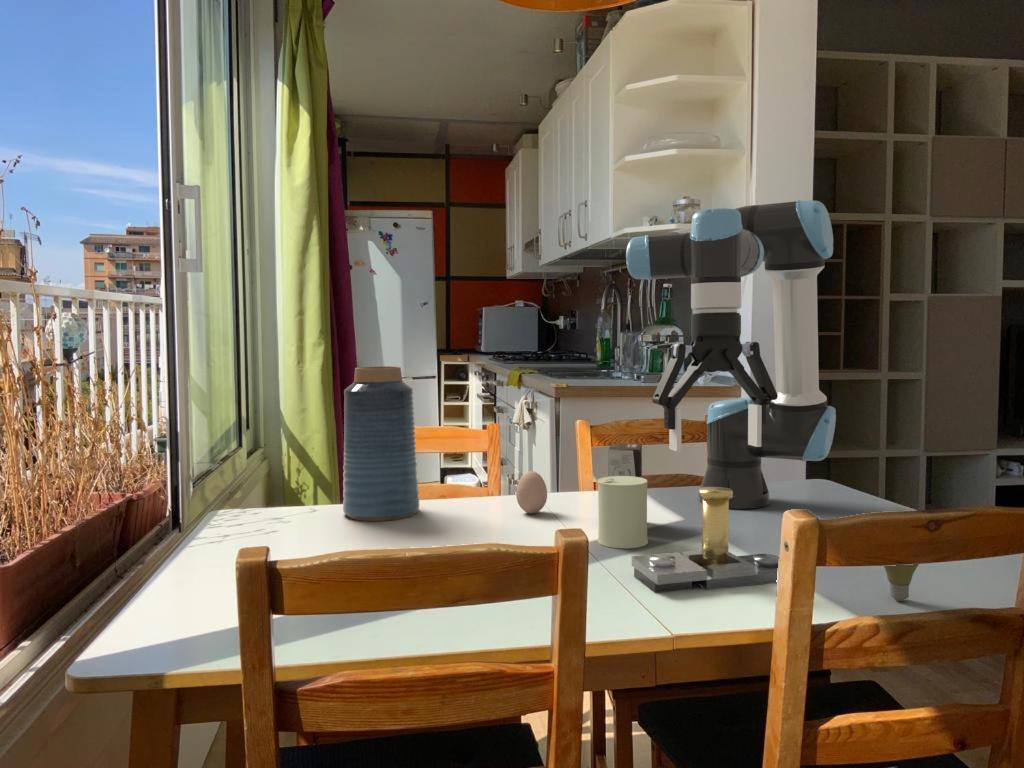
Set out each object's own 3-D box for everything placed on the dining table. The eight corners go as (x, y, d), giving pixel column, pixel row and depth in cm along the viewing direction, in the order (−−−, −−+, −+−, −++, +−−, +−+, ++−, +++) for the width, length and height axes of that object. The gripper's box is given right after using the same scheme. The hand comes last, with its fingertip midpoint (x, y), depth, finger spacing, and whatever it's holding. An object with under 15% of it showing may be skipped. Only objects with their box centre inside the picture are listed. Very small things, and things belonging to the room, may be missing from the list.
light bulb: (870, 594, 119) (871, 527, 119) (906, 593, 120) (907, 526, 119) (890, 607, 114) (892, 537, 113) (929, 606, 114) (930, 536, 114)
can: (588, 539, 153) (588, 475, 152) (631, 533, 156) (630, 471, 156) (613, 551, 144) (613, 484, 144) (657, 545, 148) (657, 479, 147)
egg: (531, 518, 170) (530, 475, 169) (510, 513, 174) (509, 471, 174) (553, 513, 174) (553, 471, 173) (532, 508, 179) (532, 467, 178)
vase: (327, 518, 172) (323, 369, 170) (369, 502, 187) (365, 365, 185) (395, 524, 166) (391, 370, 164) (432, 507, 181) (429, 365, 179)
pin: (722, 571, 132) (722, 485, 131) (738, 581, 127) (739, 492, 126) (692, 574, 130) (692, 487, 129) (707, 584, 125) (708, 494, 124)
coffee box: (641, 532, 157) (640, 449, 156) (607, 531, 158) (607, 448, 157) (643, 521, 166) (642, 442, 165) (611, 520, 167) (610, 442, 166)
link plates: (765, 562, 136) (766, 538, 136) (800, 580, 127) (801, 554, 126) (631, 574, 131) (631, 550, 130) (657, 594, 121) (657, 568, 121)
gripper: (774, 310, 132) (773, 440, 134) (630, 312, 126) (631, 448, 128) (801, 310, 125) (800, 447, 127) (650, 312, 119) (650, 455, 121)
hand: (715, 448), depth 127 cm, fingers open, 13 cm apart
